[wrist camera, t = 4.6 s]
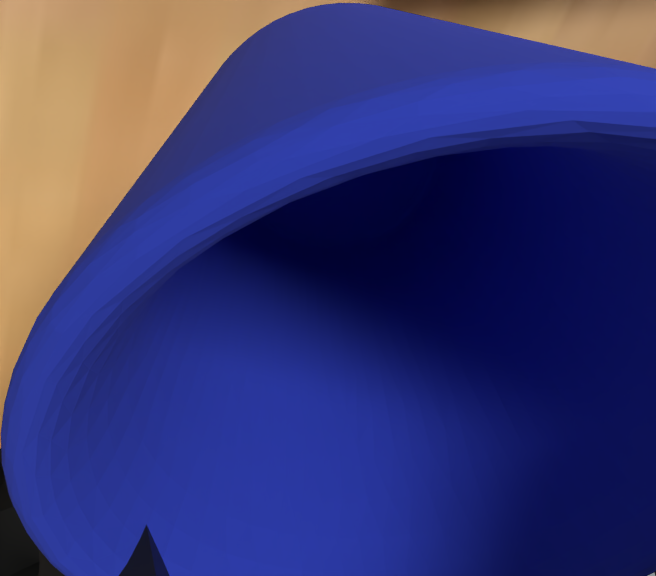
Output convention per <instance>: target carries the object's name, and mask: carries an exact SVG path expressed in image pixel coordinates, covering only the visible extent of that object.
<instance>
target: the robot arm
mask: <svg viewBox="0 0 656 576" xmlns="http://www.w3.org/2000/svg"><path fill="white" fill-rule="evenodd" d="M655 575H656V572H655ZM0 576H65V575H64V574H62V573H61V572H60V571H59V570H58V569H57V568H55V567H54V566H53V565H52V564H51V563H50V562H49V561H48V559H47V558H46V557H45V556H44V555H43V554H42V552H41V551H40V550H39V549H38V547H37V546H36V545H35V543H34V542H33V540H32V539H31V538H30V536H29V535H28V533H27V532H26V530H25V528H24V526H23V524H22V522H21V520H20V518H19V516H18V514H17V512H16V510H15V508H14V506H13V504H12V501H11V499H10V496H9V493H8V488H7V484H6V480H5V475H4V471H3V466H2V451H1V449H0ZM119 576H170V575H169V573H168V571H167V568H166V566H165V564H164V561H163V559H162V557H161V555H160V553H159V550H158V548H157V546H156V544H155V542H154V539H153V537H152V535H151V533H150V531H149V529H148V526H147V524H146V526H145V529H144V531H143V533H142V535H141V538H140V540H139V542H138V544H137V546H136V548H135V549H134V551H133V553H132V555H131V557H130V559H129V561H128V563H127V564H126V566H125V567H124V569H123V570H122V572H121V573H120V574H119Z"/></svg>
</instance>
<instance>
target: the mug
mask: <svg viewBox="0 0 656 576" xmlns="http://www.w3.org/2000/svg"><path fill="white" fill-rule="evenodd" d="M1 451H2V466H3V471H4V475H5V480H6V484H7V488H8V493H9V496H10V499H11V501H12V504H13V506H14V508H15V510H16V512H17V514H18V516H19V518H20V520H21V522H22V524H23V526H24V528H25V530H26V532H27V533H28V535H29V536H30V538H31V539H32V540H33V542H34V543H35V545H36V546H37V547H38V549H39V550H40V551H41V552H42V554H43V555H44V556H45V557H46V558H47V559H48V561H49V562H50V563H51V564H52V565H53V566H54V567H55V568H57V569H58V570H59V571H60V572H61V573H62V574H64V575H65V576H119V574H120V573H121V572H122V570H123V569H124V567H125V566H126V564H127V563H128V561H129V559H130V557H131V555H132V553H133V551H134V549H135V548H136V546H137V544H138V542H139V540H140V538H141V535H142V533H143V531H144V529H145V526H146V524H147V526H148V529H149V531H150V533H151V535H152V537H153V539H154V542H155V544H156V546H157V548H158V550H159V553H160V555H161V557H162V559H163V561H164V564H165V566H166V568H167V571H168V573H169V575H170V576H647V575H650V574H652V573H654V572H656V69H654V68H650V67H645V66H641V65H636V64H632V63H628V62H623V61H619V60H614V59H610V58H606V57H601V56H597V55H592V54H588V53H584V52H579V51H575V50H570V49H566V48H562V47H557V46H553V45H548V44H544V43H540V42H535V41H531V40H526V39H522V38H518V37H513V36H509V35H504V34H500V33H496V32H491V31H487V30H482V29H478V28H474V27H469V26H465V25H460V24H456V23H452V22H447V21H443V20H438V19H434V18H430V17H425V16H421V15H416V14H412V13H408V12H403V11H399V10H394V9H390V8H385V7H381V6H376V5H369V4H360V3H336V4H326V5H319V6H315V7H310V8H306V9H303V10H300V11H297V12H294V13H291V14H288V15H286V16H284V17H282V18H280V19H278V20H275V21H273V22H272V23H270V24H269V25H267V26H265V27H264V28H262V29H260V30H259V31H257V32H256V33H255V34H254V35H252V36H251V37H250V38H248V39H247V40H246V41H245V42H244V43H243V44H242V45H241V46H239V47H238V48H237V49H236V50H235V51H234V52H233V53H232V54H231V55H230V56H229V58H228V59H227V60H226V61H225V62H224V63H223V65H222V66H221V67H220V69H219V70H218V71H217V73H216V74H215V76H214V77H213V78H212V80H211V81H210V82H209V84H208V85H207V86H206V88H205V89H204V90H203V92H202V93H201V94H200V96H199V97H198V98H197V100H196V101H195V103H194V104H193V105H192V107H191V108H190V109H189V111H188V112H187V113H186V115H185V116H184V117H183V119H182V120H181V121H180V123H179V124H178V125H177V127H176V128H175V130H174V131H173V132H172V134H171V135H170V136H169V138H168V139H167V140H166V142H165V143H164V144H163V146H162V147H161V148H160V150H159V151H158V152H157V154H156V155H155V157H154V158H153V159H152V161H151V162H150V163H149V165H148V166H147V167H146V169H145V170H144V171H143V173H142V174H141V175H140V177H139V178H138V179H137V181H136V182H135V184H134V185H133V186H132V188H131V189H130V190H129V192H128V193H127V194H126V196H125V197H124V198H123V200H122V201H121V202H120V204H119V205H118V206H117V208H116V209H115V211H114V212H113V213H112V215H111V216H110V217H109V219H108V220H107V221H106V223H105V224H104V225H103V227H102V228H101V229H100V231H99V232H98V233H97V235H96V236H95V238H94V239H93V240H92V242H91V243H90V244H89V246H88V247H87V248H86V250H85V251H84V252H83V254H82V255H81V256H80V258H79V259H78V261H77V262H76V263H75V265H74V266H73V267H72V269H71V270H70V271H69V273H68V274H67V275H66V277H65V278H64V279H63V281H62V282H61V283H60V285H59V286H58V288H57V289H56V290H55V292H54V293H53V295H52V296H51V298H50V299H49V301H48V302H47V304H46V305H45V307H44V308H43V310H42V311H41V313H40V314H39V316H38V317H37V319H36V321H35V323H34V325H33V327H32V330H31V332H30V334H29V336H28V338H27V340H26V343H25V345H24V347H23V349H22V352H21V354H20V356H19V358H18V360H17V363H16V365H15V367H14V369H13V373H12V377H11V381H10V385H9V388H8V392H7V396H6V400H5V404H4V412H3V421H2V429H1Z"/></svg>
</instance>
